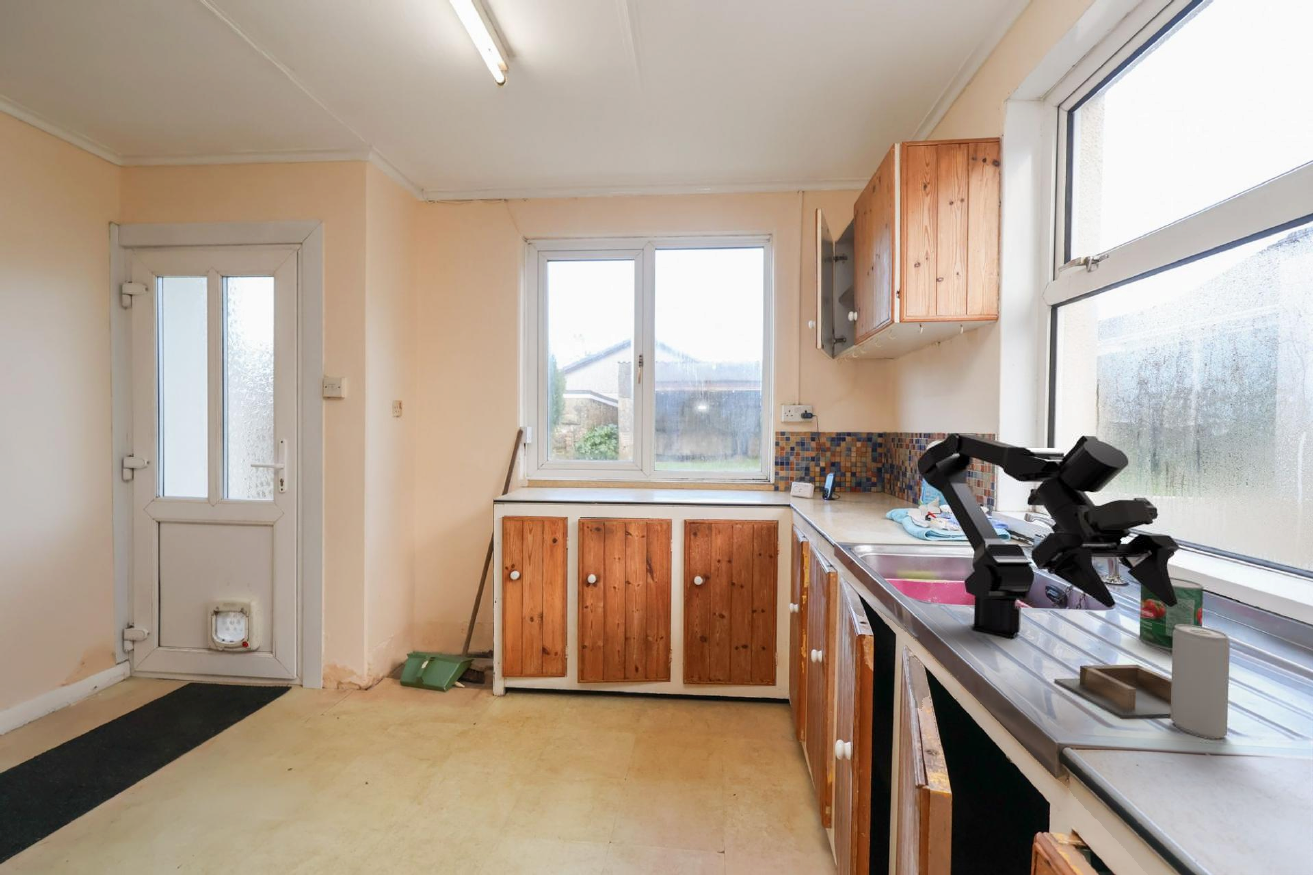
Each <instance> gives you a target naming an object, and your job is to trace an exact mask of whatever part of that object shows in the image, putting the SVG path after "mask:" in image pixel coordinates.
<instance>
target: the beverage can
mask: <svg viewBox="0 0 1313 875" xmlns="http://www.w3.org/2000/svg"><path fill="white" fill-rule="evenodd" d="M1228 639H1229V635H1228V634H1226V633H1224V632H1222V631H1219V630H1215V629H1213V628H1208V627H1204V626H1202V627H1200V626H1194V625H1185V624H1179V625H1175V630H1174V631H1173V650H1172V652H1171V654H1172V655H1171V656H1172V658H1171V679H1172V685H1171V717H1169V719H1170V720H1171V721H1172V723H1173V724H1174V725H1175V726H1176V727H1177V728H1178V729H1180V730H1182V731H1184V732H1185V733H1187V734H1191V735H1193V734H1194V735H1193V736H1196V735H1197V736H1196V737H1200V736H1202V737H1201V738H1204V737H1206V739H1209V738H1217V739H1216V740H1220V739H1219V738H1221V739H1223V738H1224V737H1226V736H1227V735H1228V716H1229V715H1228V714H1229V686H1230V685H1229V684H1230V680H1229V679H1230V653H1231V652H1230V651H1231V650H1230V649H1231V642H1230V640H1228Z"/></svg>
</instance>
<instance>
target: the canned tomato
mask: <svg viewBox="0 0 1313 875" xmlns="http://www.w3.org/2000/svg"><path fill="white" fill-rule="evenodd" d="M1169 577H1170V580H1171V584H1172V587H1173V590H1174V593H1175V596H1176V599H1177V602H1178V604H1177V605H1175V606H1174V607H1169V606H1167V605H1166V604H1165V603H1163V602H1162V601H1161V600H1160V599H1158V598H1157V597H1156V596H1155V595H1154V594H1152V593H1151V592H1150V591H1149V590H1148V589H1147V588H1145V587H1144V586H1143V585H1142V584H1141V583H1140V600H1139V601H1140V604H1139V607H1140V608H1139V636H1138V639H1139V640H1140V641H1142V643H1143V642H1144V643H1145V644H1147V645H1150V646H1153V647H1156V648H1158V649H1161V650H1162V649H1163V650H1167V651H1172V650H1173V631H1174V630H1175V625H1179V624H1185V625H1194V626H1200V627H1203V608H1204V606H1203V604H1204V602H1203V600H1204V592H1203V591H1204V585H1203V584H1201V583H1198V582H1196V581H1192V580H1187V579H1184V578H1177V577H1173V576H1169Z"/></svg>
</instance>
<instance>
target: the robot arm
mask: <svg viewBox="0 0 1313 875" xmlns="http://www.w3.org/2000/svg"><path fill="white" fill-rule="evenodd" d="M973 459H977V460H978V461H979V460H980V461H982V462H985V463H988V464H992V465H995V466H998V467H999V468H1001V469H1002V470H1003V473H1005V475H1007V476H1009V477H1010V478H1013V479H1014V480H1016V481H1018V482H1021V483H1023V482H1024V483H1040V485H1038V487H1036V488H1031V489H1029V490H1030V494H1029V496H1028V497H1027V503H1026V504H1027V505H1028V506H1040V507H1041V506H1043V507H1044V509H1045V510H1046V511H1047V513H1048V514H1049V516H1050V517H1051V519H1052V520H1053V522H1054V525H1053V526H1051V530H1052V531H1053V532H1049V533H1048V534H1047V535H1046V536H1045V537H1044V538H1043V539H1042V540H1041V541H1039V543H1038V544H1036V546H1035V547H1034V548H1032V549H1031V557H1030V558H1031V560H1032V561H1033V562H1032V561H1031V560H1030V559H1028V557H1027V555H1025V552H1024V550H1023V548H1022V547H1021V545H1019V544H1018V543H1006V542H1005V541H1003V540H1002V539H1001V538H1000V536H999V534H998V532H997V531H996V529H995V528H994V526H993V524H992V523H991V521H990V520H989V518H988V516H987V515H986V512H985V511H984V510H983V508H982V507H981V504H979V501H978V500H977V498H976V496H975V495H974V493H973V492H972V489H970V487H969V485H968V484H967V477H968V468H969V466H970V465H972V464H973ZM1128 465H1129V459H1128V457H1127V455H1126V454H1125V453H1124V451H1123V450H1120V449H1118V448H1116V447H1115V446H1113V445H1111V444H1110V443H1108V442H1104V441H1101V440H1099V438H1098V437H1097V436H1095V435H1081V436H1080V437H1079V439H1078V440H1077V441H1076V443H1075V444H1074V446H1073V447H1072V448H1071V449H1070V450H1069V451H1068V452H1067V453H1066V455H1065V453H1064V452H1063V451H1062V450H1061V449H1059V448H1055V447H1054V448H1053V447H1029V446H1028V447H1027V446H1025V447H1023V446H1016V445H1012V444H1009V443H1004V442H1001V441H998V440H995V439H994V440H993V439H990V438H986V437H983V436H979V435H977V434H974V433H966V432H965V433H963V432H958V433H957V432H955V433H952V434H950V435H948V436H947V437H946V438H945V439H944V440H943V441H941V442H938V443H937V444H934V445H933V446H930V447H929V448H928V449H927V450H926V451H925V452H923V453H922V455H921V456H920V457H919V459H918V460H917V470H918V472H919V474H920V475H921V477H922V478H923V480H924V481H925V483H926V484H928V486H931V487H932V488H934V489H935V490H937V491H938V492H940V493H941V495H942V497H943V499H944V500H945V502H946V504H947V505H948V506H949V509H950V511H951V512H952V514H953V516H954V518H955V519H956V521H957V523H958V524H959V526H960V528H961V530H962V532H963V534H964V535H965V537H966V538H967V541H968V542H969V544H970V546H971V548H972V550H973V551H974V552H973V558H972V568H973V572H972V573H971V574H970V575H968V576H967V578H965V580H964V581H963V582H964V587H965V591H966V594H970V595H971V596H974V611H973V613H974V614H973V615H974V616H973V617H974V618H973V623H972V625H971V629H972V630H974V631H980V632H984V633H988V634H992V635H998V636H1002V637H1005V638H1011V639H1014V638H1015V636H1016V635H1017V634H1018V633H1020V631H1021V623H1022V622H1021V621H1022V620H1021V619H1022V618H1021V616H1022V608H1021V606H1019V605H1018V600H1021V599H1022V600H1028V597H1029V593H1030V591H1031V588H1032V586H1033V583H1034V580H1035V573H1034V570H1033V568H1032V566H1031V565H1032V564H1034V565H1035V567H1037V569H1038V570H1046V571H1047V573H1048V574H1050V575H1055V576H1056V577H1058V578H1060V579H1061V580H1064V581H1065V582H1067V583H1068V584H1070V585H1072V586H1074V587H1076V588H1077V589H1078V590H1080V591H1082V592H1083V593H1085V594H1086V595H1088V596H1090V597H1091V598H1092V599H1094V600H1096V602H1097V601H1098V602H1099V603H1100V604H1102V605H1103V606H1105V607H1106V608H1113V607H1114V606H1115V605H1116V601H1115V600H1114V598H1113V595H1112V593H1111V591H1110V590H1109V589H1108V587H1107V586H1106V584H1105V583H1104V581H1103V579H1102V578H1101V576H1100V574H1099V573H1098V571H1097V570H1096V568H1095V566H1094V565H1093V559H1118V560H1119V561H1120V563H1121V564H1122V565H1123V567H1126V568H1128V569H1129V570H1128V571H1127V573H1128V574H1129V575H1130V576H1131V577H1133V579H1135V580H1136V581H1137V582H1139V583H1140V585H1141V584H1142V585H1143V586H1144V587H1145V588H1147V589H1148V590H1149V591H1150V592H1151V593H1152V594H1154V595H1155V596H1156V597H1157V598H1158V599H1160V600H1161V601H1162V602H1163V603H1165V604H1166V605H1167V606H1169V607H1174V606H1175V605H1177V604H1178V602H1177V599H1176V596H1175V593H1174V590H1173V587H1172V584H1171V580H1170V577H1171V576H1170V575H1169V570H1168V563H1169V559H1171V558H1172V557H1174V555H1175V553H1176V552H1177V551H1179V550H1180V546H1179V544H1177V542H1176V541H1175V540H1174V539H1173V538H1172V537H1171V535H1168V534H1163V533H1139V534H1138V535H1137V536H1135V537H1134V538H1132V540H1130V541H1129V542H1127V543H1122V542H1123V541H1122V539H1125V538H1126V539H1127V537H1128V536H1130V535H1131V534H1132V532H1131V530H1130V529H1132V528H1136V527H1140V526H1143V525H1147V526H1148V525H1152V524H1153V523H1154V521H1153V520H1156V519H1157V518H1158V516H1159V514H1158V509H1157V507H1156V506H1155V505H1154V504H1153V503H1152V502H1151V501H1150V500H1148V499H1147V498H1146V497H1133V499H1117V500H1112V501H1110V502H1105V503H1104V504H1101V505H1096V504H1095V503H1094V502H1093V501H1092V500H1091V498H1090V497H1089V496H1088V495H1087V494H1086V492H1087V493H1099V492H1100V491H1102V489H1104V488H1105V487H1106V486H1107V485H1108V484H1109V483H1110V482H1111V481H1112V480H1114V479H1115V477H1116V476H1118V475H1119V474H1120V473H1121V472H1122V471H1123V470H1124V469H1125V468H1127V466H1128Z"/></svg>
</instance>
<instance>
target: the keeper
mask: <svg viewBox="0 0 1313 875" xmlns="http://www.w3.org/2000/svg"><path fill="white" fill-rule="evenodd" d="M1053 681H1054V683H1055V684H1057V685H1060V686H1062V687H1064V688H1066V689H1067V690H1069V691H1070V692H1073V693H1075V694H1076V695H1078V696H1079V697H1082V698H1084V699H1086V700H1087V701H1089V702H1091V703H1093V704H1094V705H1096V706H1097V707H1100V706H1101V707H1100V708H1102V709H1104V710H1106V711H1107V710H1108V711H1107V712H1110V713H1111V712H1112V714H1113V715H1115V716H1117V717H1118V716H1119V717H1118V718H1120V719H1141V718H1142V719H1143V718H1144V719H1146V718H1147V719H1148V718H1149V719H1150V718H1151V719H1152V718H1170V717H1171V685H1172V678H1170V677H1167V676H1165V675H1163V674H1160V673H1159V672H1156V671H1154V670H1151V669H1149V668H1147V667H1144V666H1141V665H1140V664H1108V665H1107V664H1100V665H1099V664H1097V665H1096V664H1095V665H1080V666H1079V677H1075V678H1054V680H1053Z"/></svg>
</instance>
